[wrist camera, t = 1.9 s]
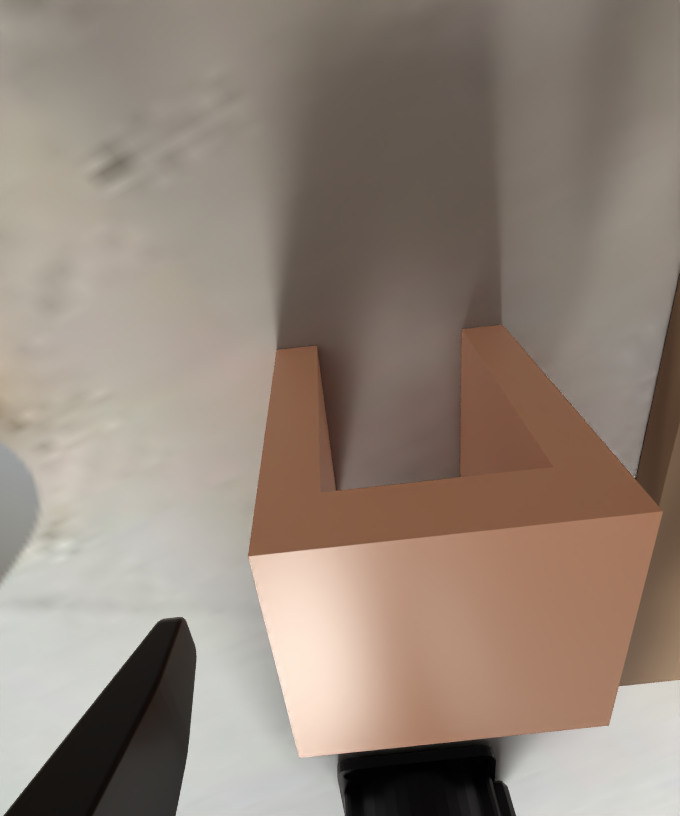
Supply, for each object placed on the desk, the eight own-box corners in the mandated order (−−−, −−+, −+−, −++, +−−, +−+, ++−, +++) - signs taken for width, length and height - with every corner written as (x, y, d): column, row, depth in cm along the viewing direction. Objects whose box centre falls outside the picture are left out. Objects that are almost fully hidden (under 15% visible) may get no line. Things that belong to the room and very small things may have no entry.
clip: (303, 506, 16) (299, 757, 10) (276, 349, 13) (248, 556, 7) (493, 485, 16) (608, 725, 10) (502, 324, 13) (662, 510, 7)
